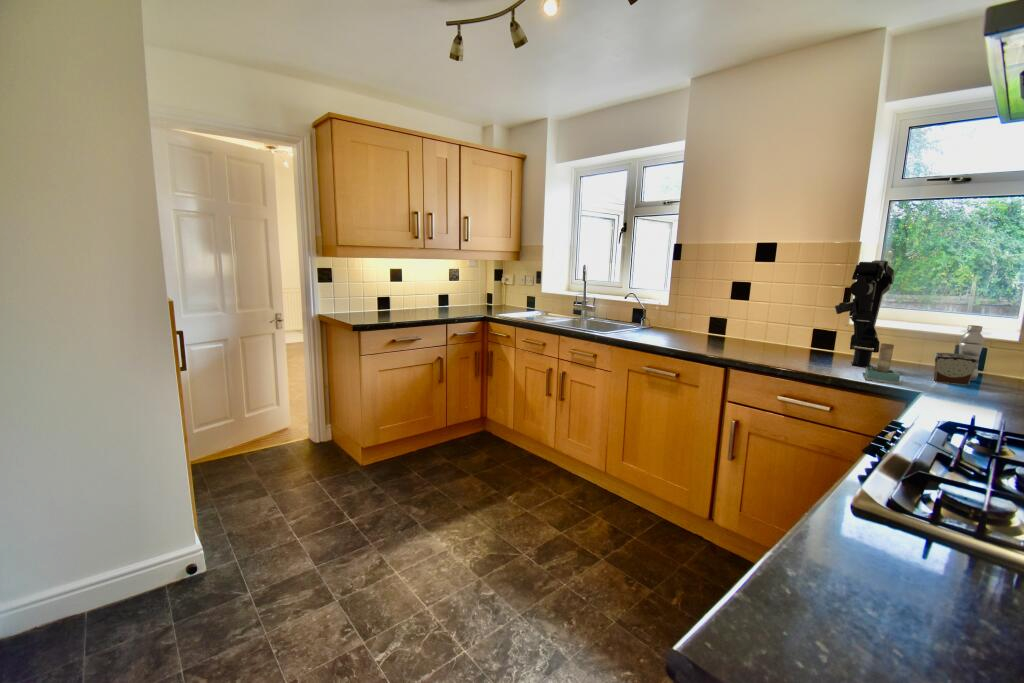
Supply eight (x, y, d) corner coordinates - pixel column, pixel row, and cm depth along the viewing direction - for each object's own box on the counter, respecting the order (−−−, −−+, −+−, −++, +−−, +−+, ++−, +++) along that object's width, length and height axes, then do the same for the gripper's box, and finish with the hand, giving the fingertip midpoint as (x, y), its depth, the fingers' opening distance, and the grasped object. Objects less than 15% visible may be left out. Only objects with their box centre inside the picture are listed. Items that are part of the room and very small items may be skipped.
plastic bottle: (981, 383, 164) (993, 327, 161) (959, 381, 166) (971, 326, 162) (967, 378, 171) (979, 325, 167) (946, 377, 172) (957, 324, 168)
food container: (963, 381, 166) (969, 354, 164) (973, 385, 160) (980, 357, 158) (921, 377, 170) (926, 351, 168) (930, 381, 164) (935, 354, 162)
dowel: (872, 376, 165) (878, 343, 163) (881, 376, 166) (887, 343, 163) (880, 378, 162) (887, 344, 160) (890, 378, 162) (896, 345, 160)
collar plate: (862, 374, 171) (863, 366, 170) (896, 379, 165) (898, 370, 165) (864, 379, 162) (866, 370, 162) (901, 385, 157) (903, 375, 156)
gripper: (837, 293, 183) (830, 332, 186) (839, 295, 168) (832, 337, 171) (872, 295, 177) (865, 335, 180) (877, 297, 162) (869, 341, 165)
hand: (857, 337), depth 174 cm, fingers open, 9 cm apart
